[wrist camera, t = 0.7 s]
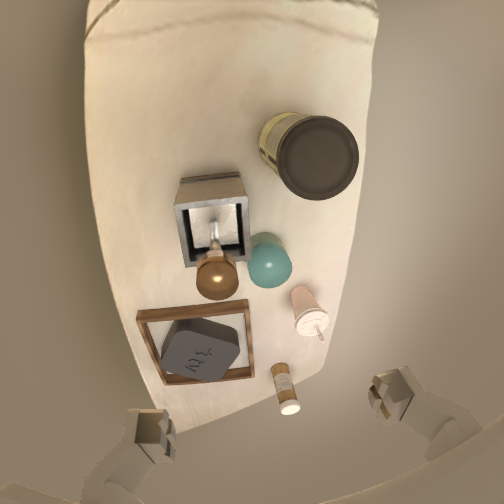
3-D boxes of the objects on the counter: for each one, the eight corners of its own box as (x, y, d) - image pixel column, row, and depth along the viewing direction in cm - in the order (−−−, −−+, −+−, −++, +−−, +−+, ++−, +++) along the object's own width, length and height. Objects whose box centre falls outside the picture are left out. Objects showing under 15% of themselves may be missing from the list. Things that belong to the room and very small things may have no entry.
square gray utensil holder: (180, 178, 44) (171, 203, 34) (239, 171, 45) (249, 194, 35) (188, 231, 49) (184, 269, 39) (243, 225, 50) (253, 260, 40)
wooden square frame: (138, 310, 56) (135, 320, 53) (247, 299, 58) (249, 308, 55) (165, 376, 67) (164, 385, 64) (253, 368, 69) (254, 377, 66)
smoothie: (306, 306, 61) (328, 354, 49) (279, 303, 60) (296, 353, 47) (318, 282, 58) (344, 329, 46) (290, 277, 57) (311, 326, 45)
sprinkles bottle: (285, 372, 72) (297, 414, 60) (269, 373, 71) (279, 416, 59) (290, 362, 70) (303, 405, 58) (272, 362, 69) (283, 406, 57)
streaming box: (179, 309, 57) (177, 326, 53) (242, 329, 62) (244, 346, 58) (159, 351, 63) (157, 368, 58) (215, 367, 68) (216, 383, 63)
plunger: (188, 204, 38) (179, 259, 26) (234, 199, 39) (248, 251, 26) (194, 245, 41) (190, 312, 29) (238, 240, 42) (252, 304, 29)
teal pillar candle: (242, 234, 51) (247, 254, 45) (282, 230, 52) (292, 248, 45) (245, 268, 54) (250, 290, 48) (282, 263, 55) (291, 285, 49)
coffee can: (328, 126, 43) (371, 138, 31) (305, 181, 48) (338, 211, 35) (271, 101, 40) (297, 101, 28) (248, 160, 45) (263, 184, 32)
